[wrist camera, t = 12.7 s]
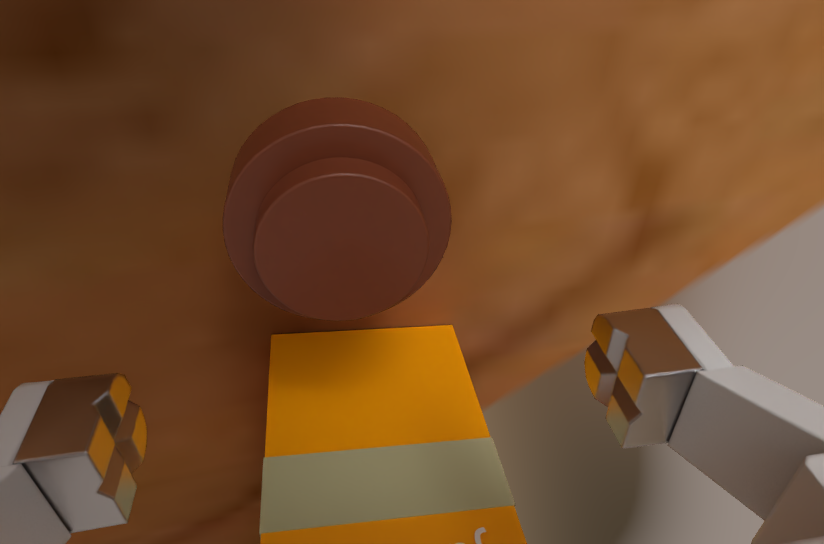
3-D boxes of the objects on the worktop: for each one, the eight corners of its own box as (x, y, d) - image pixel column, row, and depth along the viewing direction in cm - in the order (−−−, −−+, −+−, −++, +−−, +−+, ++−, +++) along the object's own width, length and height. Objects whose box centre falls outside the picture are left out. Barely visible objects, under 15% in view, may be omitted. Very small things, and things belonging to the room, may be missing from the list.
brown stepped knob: (220, 70, 17) (191, 151, 12) (419, 58, 18) (465, 130, 13) (255, 241, 21) (243, 356, 16) (420, 225, 21) (457, 330, 17)
